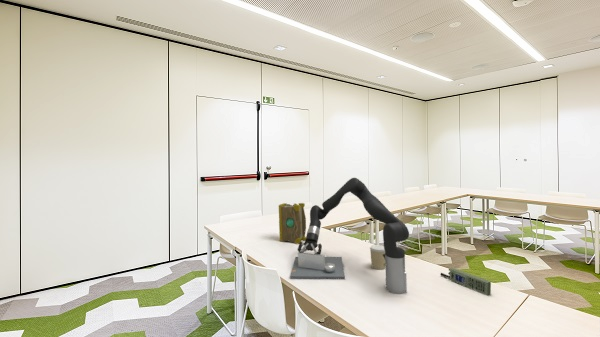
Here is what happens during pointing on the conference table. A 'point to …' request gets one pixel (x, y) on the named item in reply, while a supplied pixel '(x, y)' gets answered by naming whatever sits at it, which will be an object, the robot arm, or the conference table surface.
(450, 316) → the conference table surface
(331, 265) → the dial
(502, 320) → the conference table surface
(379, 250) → the coffee cup
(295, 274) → the dial plate
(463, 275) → the handheld radio
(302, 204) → the decorative book
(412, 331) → the conference table surface
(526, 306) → the conference table surface
